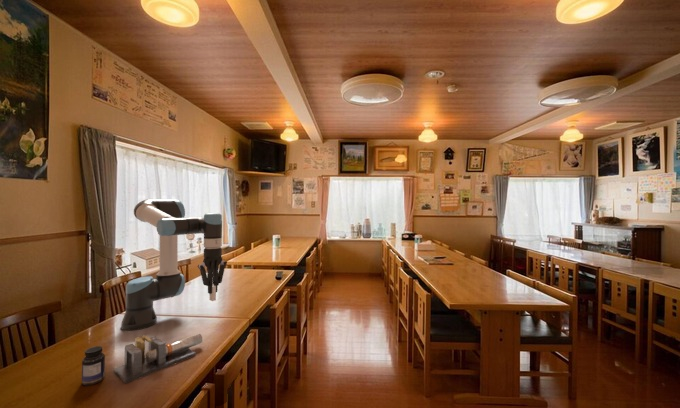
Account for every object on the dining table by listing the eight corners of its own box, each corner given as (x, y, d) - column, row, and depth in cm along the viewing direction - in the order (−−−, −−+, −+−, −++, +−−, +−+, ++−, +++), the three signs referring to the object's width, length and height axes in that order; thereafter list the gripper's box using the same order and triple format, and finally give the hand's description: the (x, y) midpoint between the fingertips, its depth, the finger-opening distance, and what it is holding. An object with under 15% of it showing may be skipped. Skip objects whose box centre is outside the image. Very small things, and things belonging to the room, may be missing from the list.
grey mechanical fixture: (114, 371, 108) (114, 347, 108) (181, 346, 127) (181, 326, 127) (125, 383, 101) (125, 357, 101) (195, 355, 120) (195, 333, 120)
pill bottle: (90, 376, 105) (91, 345, 105) (109, 375, 105) (109, 344, 106) (76, 386, 99) (77, 353, 99) (96, 385, 99) (96, 353, 99)
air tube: (150, 364, 110) (150, 353, 110) (145, 361, 113) (146, 349, 113) (202, 344, 126) (202, 334, 126) (197, 342, 129) (197, 332, 129)
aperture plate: (134, 361, 113) (134, 337, 113) (143, 357, 115) (144, 334, 115) (141, 367, 109) (141, 342, 109) (151, 363, 111) (151, 339, 111)
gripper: (203, 250, 124) (202, 305, 124) (230, 246, 135) (230, 298, 135) (194, 248, 129) (194, 302, 129) (221, 245, 139) (221, 295, 139)
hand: (212, 300), depth 132 cm, fingers closed
